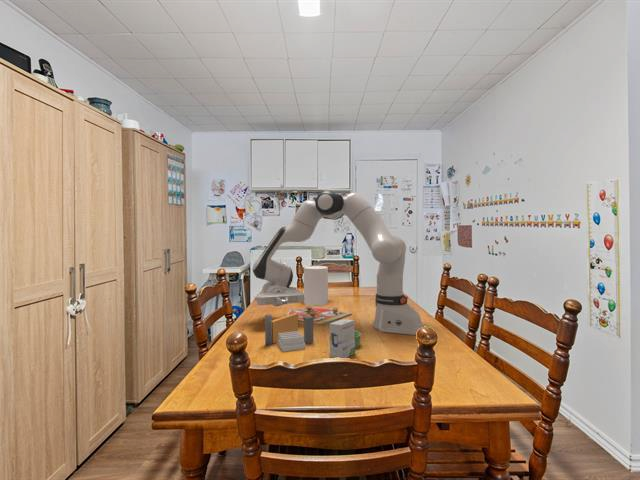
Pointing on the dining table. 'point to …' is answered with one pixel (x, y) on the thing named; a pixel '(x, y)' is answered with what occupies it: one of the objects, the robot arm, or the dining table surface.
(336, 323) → the ink box
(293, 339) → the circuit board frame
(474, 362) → the dining table surface
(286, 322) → the tan wooden panel
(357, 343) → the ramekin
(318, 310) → the knob puzzle
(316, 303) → the canister
